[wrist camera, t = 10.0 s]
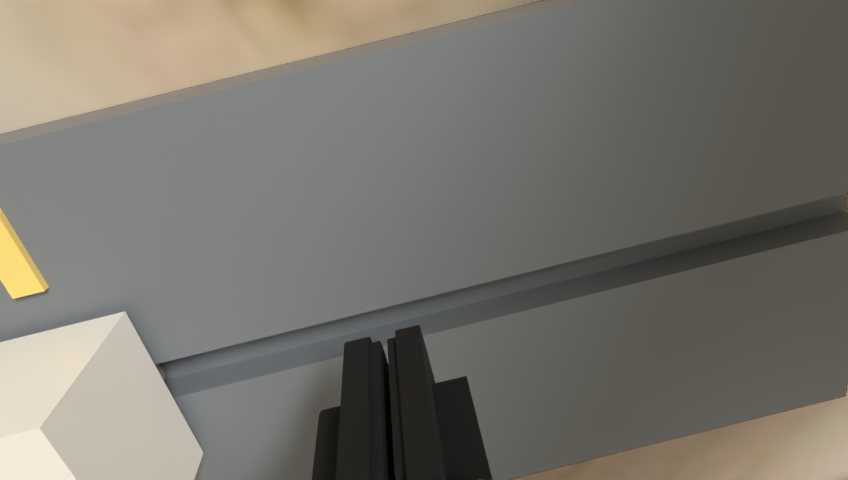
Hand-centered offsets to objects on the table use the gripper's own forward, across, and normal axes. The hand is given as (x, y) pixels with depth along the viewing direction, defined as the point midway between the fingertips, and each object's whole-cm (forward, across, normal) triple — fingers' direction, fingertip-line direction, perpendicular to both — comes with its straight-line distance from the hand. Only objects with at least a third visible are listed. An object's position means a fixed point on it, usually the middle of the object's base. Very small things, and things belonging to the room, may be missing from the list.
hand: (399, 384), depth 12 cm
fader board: (+6, 0, 0) cm, 6 cm away
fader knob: (+4, +8, 0) cm, 9 cm away
